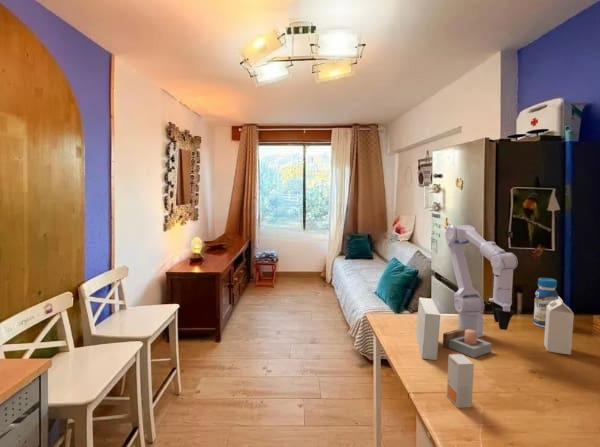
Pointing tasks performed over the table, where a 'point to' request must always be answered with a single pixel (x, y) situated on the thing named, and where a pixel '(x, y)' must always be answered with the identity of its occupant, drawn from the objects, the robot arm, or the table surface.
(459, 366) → the skincare box
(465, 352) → the socket block
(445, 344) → the walnut wall
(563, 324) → the milk carton
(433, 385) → the table surface
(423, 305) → the skincare box
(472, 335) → the peach egg shape
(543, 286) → the beverage bottle
